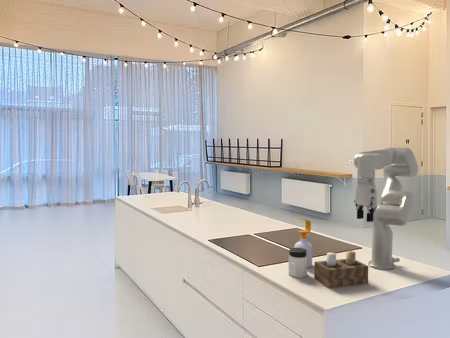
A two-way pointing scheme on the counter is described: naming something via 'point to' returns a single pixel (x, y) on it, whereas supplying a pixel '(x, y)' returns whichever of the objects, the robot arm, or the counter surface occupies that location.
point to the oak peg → (350, 257)
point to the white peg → (331, 259)
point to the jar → (297, 262)
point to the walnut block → (341, 273)
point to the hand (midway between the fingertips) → (364, 219)
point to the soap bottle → (305, 242)
